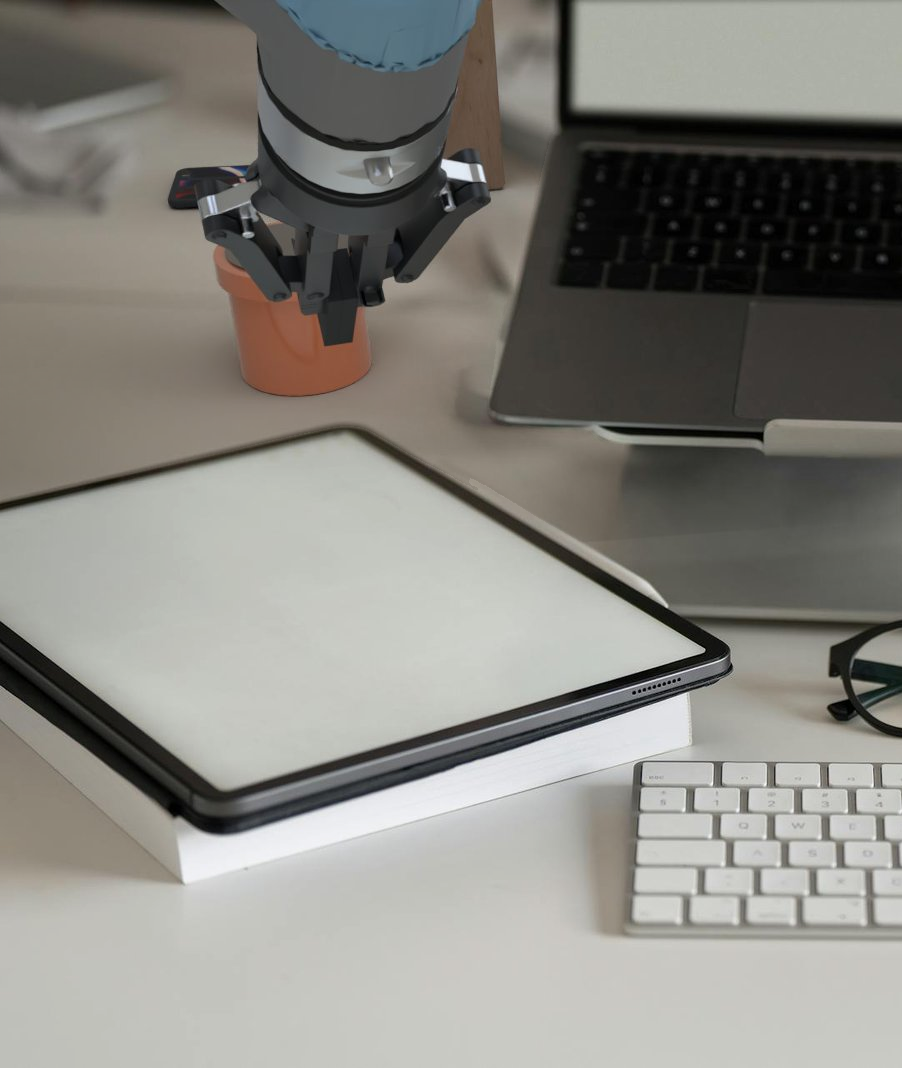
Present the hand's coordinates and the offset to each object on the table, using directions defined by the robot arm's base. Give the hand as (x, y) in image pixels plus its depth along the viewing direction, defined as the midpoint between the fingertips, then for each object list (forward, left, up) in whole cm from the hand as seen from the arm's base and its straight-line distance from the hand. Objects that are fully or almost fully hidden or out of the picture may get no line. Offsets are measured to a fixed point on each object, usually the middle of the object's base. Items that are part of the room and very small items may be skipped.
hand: (333, 320), depth 91 cm
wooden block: (-14, +43, -10) cm, 46 cm away
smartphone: (-26, +38, -10) cm, 47 cm away
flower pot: (-9, +12, -10) cm, 18 cm away
